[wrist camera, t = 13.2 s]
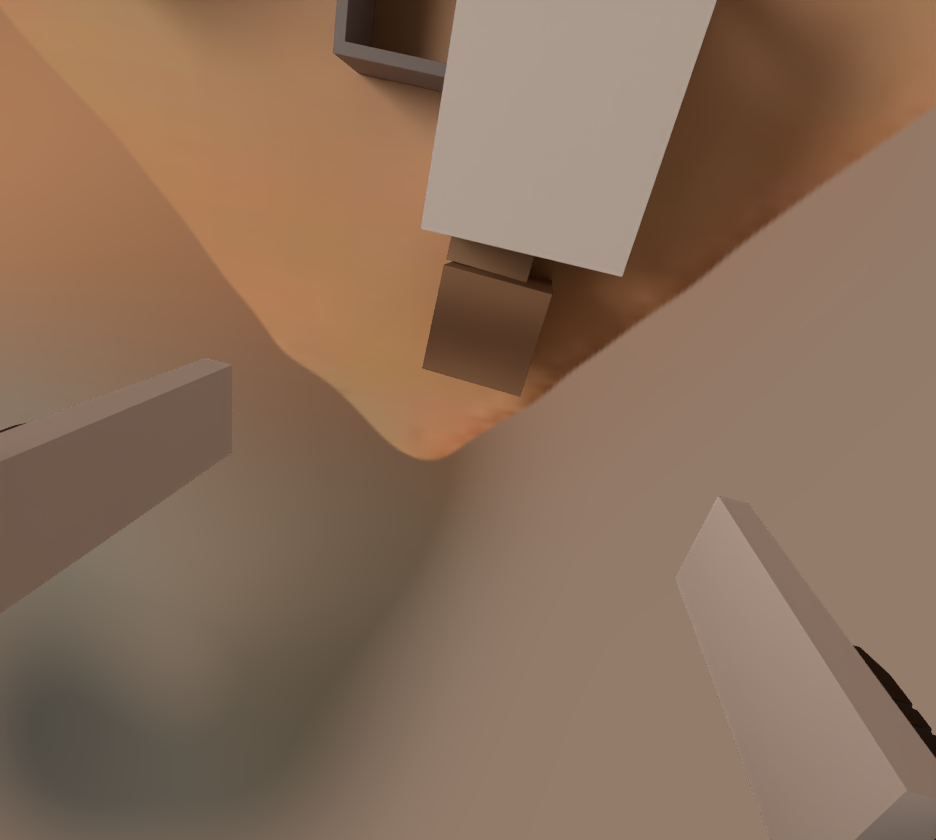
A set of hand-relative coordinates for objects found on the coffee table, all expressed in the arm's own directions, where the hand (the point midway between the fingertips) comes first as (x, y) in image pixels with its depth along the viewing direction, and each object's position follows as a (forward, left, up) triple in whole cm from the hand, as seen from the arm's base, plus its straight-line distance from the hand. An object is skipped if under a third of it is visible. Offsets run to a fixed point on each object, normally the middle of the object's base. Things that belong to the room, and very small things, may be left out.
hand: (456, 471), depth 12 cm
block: (-1, -1, -17) cm, 17 cm away
